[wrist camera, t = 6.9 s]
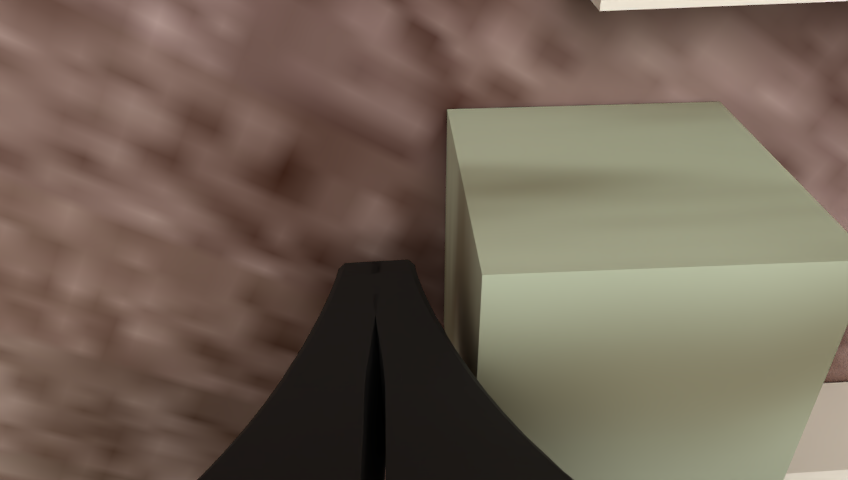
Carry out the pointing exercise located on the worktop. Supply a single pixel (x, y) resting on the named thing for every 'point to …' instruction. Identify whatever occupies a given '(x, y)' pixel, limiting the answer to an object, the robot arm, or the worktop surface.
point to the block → (640, 287)
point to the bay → (837, 402)
